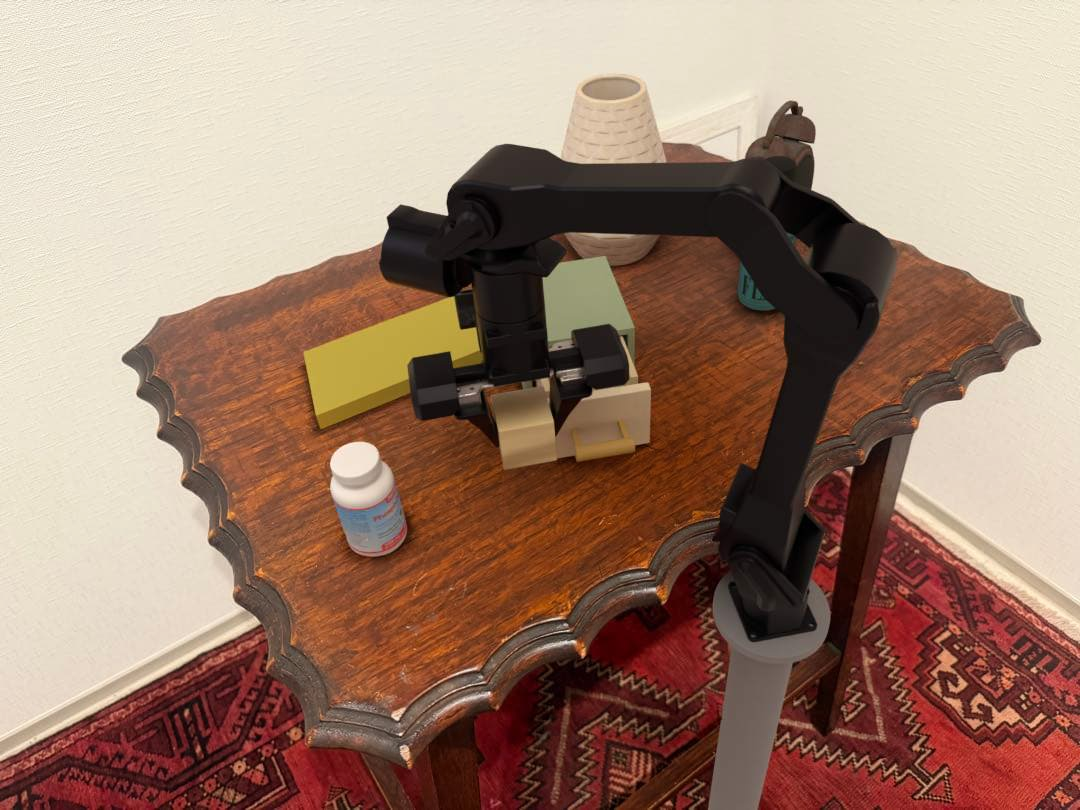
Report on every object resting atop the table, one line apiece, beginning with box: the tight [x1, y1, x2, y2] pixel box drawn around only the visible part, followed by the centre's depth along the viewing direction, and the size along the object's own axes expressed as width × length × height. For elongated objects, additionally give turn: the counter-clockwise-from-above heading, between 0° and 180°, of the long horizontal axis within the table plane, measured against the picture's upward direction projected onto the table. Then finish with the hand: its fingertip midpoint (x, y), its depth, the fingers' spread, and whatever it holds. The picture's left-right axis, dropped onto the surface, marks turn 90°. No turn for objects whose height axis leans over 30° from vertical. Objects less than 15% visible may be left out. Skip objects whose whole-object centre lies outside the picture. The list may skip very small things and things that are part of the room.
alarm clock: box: [744, 99, 817, 190], centre depth 115 cm, size 15×7×20 cm, turn 147°
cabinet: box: [521, 256, 636, 389], centre depth 103 cm, size 15×13×10 cm
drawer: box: [533, 335, 652, 463], centre depth 94 cm, size 18×11×8 cm, turn 9°
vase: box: [559, 73, 668, 267], centre depth 116 cm, size 17×17×23 cm
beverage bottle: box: [735, 156, 798, 311], centre depth 105 cm, size 6×7×20 cm
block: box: [490, 386, 558, 471], centre depth 80 cm, size 5×5×5 cm
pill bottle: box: [329, 441, 408, 558], centre depth 84 cm, size 6×6×11 cm
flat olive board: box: [303, 297, 483, 430], centre depth 107 cm, size 12×2×24 cm
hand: (525, 438), depth 81 cm, fingers closed on block, 5 cm apart
